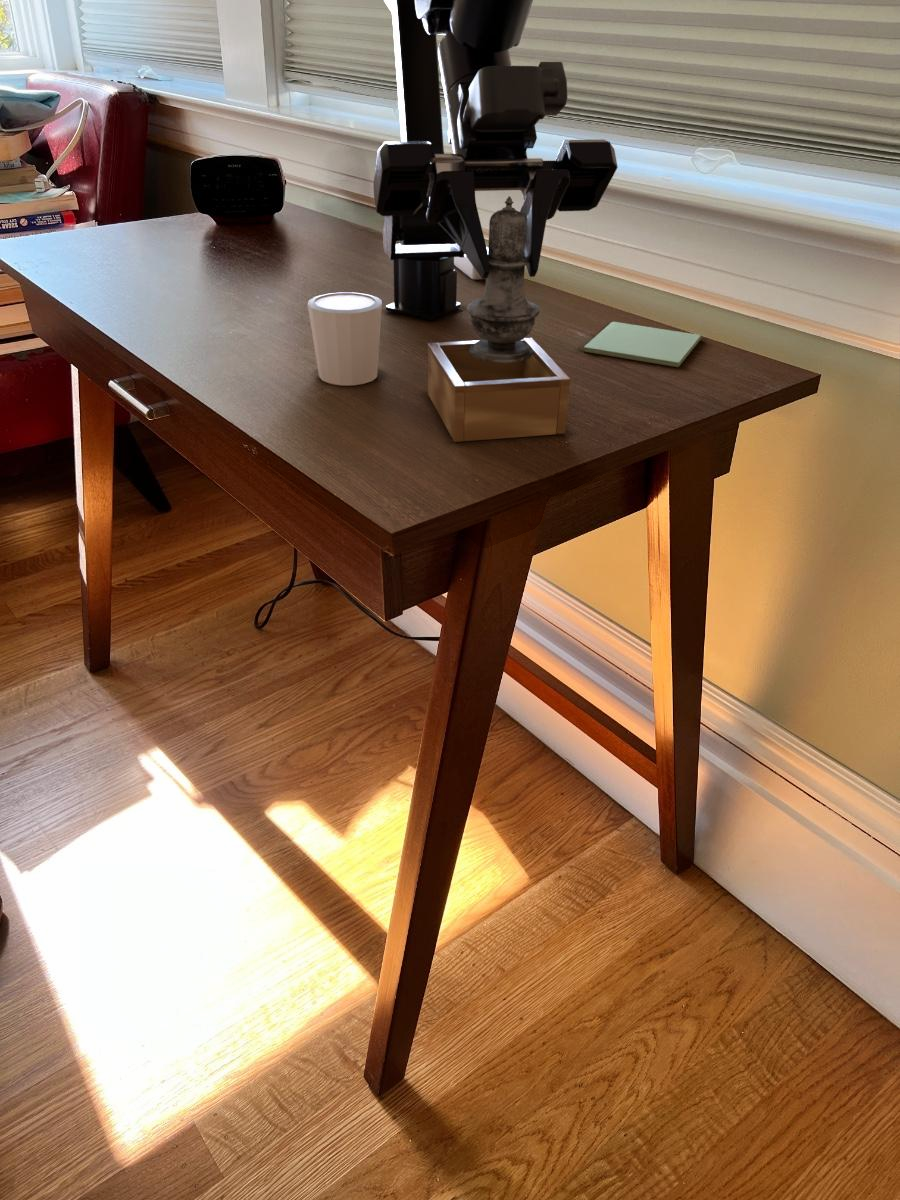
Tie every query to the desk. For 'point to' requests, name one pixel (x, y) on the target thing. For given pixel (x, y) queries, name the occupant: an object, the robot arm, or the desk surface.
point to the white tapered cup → (346, 336)
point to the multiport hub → (467, 267)
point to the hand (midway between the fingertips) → (509, 274)
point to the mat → (643, 344)
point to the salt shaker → (504, 293)
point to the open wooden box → (496, 393)
